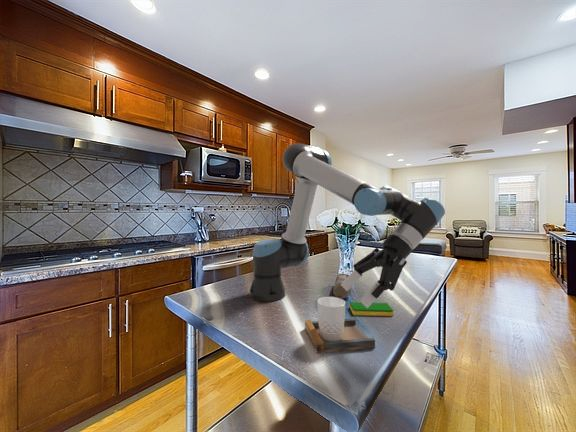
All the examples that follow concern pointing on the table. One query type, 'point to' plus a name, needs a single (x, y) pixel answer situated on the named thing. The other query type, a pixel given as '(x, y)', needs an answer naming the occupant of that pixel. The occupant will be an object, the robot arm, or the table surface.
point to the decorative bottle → (338, 289)
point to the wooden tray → (350, 340)
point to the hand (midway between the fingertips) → (352, 295)
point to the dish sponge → (371, 309)
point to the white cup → (331, 318)
